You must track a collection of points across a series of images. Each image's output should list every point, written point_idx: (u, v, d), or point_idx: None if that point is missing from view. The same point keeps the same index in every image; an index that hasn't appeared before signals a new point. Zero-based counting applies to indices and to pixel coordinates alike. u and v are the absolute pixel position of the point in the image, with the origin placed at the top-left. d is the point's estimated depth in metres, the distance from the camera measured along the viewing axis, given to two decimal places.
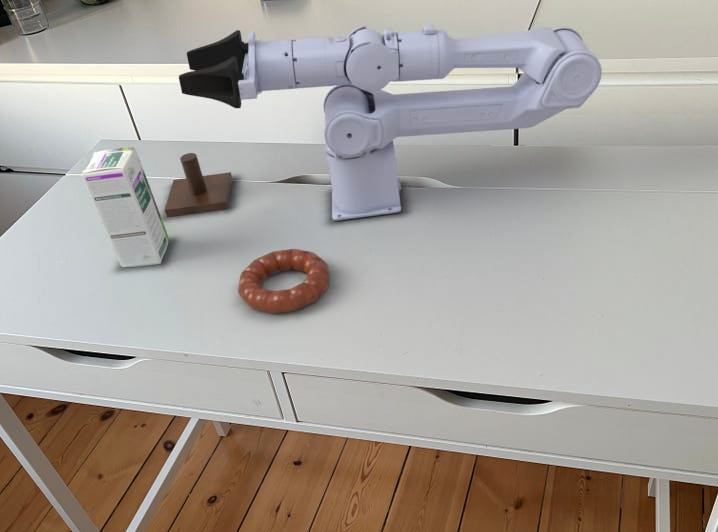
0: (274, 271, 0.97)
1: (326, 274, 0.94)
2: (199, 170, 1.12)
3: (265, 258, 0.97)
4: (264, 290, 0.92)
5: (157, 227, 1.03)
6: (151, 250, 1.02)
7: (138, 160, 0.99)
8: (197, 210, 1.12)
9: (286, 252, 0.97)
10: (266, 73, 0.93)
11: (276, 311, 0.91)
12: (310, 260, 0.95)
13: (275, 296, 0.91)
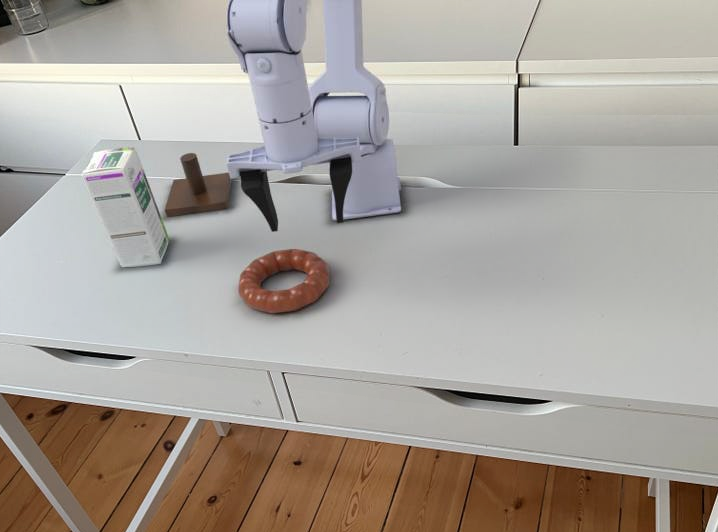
0: (274, 271, 0.97)
1: (326, 274, 0.94)
2: (199, 170, 1.12)
3: (265, 258, 0.97)
4: (264, 290, 0.92)
5: (157, 227, 1.03)
6: (151, 250, 1.02)
7: (138, 160, 0.99)
8: (197, 210, 1.12)
9: (286, 252, 0.97)
10: (316, 137, 0.83)
11: (276, 311, 0.91)
12: (310, 260, 0.95)
13: (275, 296, 0.91)
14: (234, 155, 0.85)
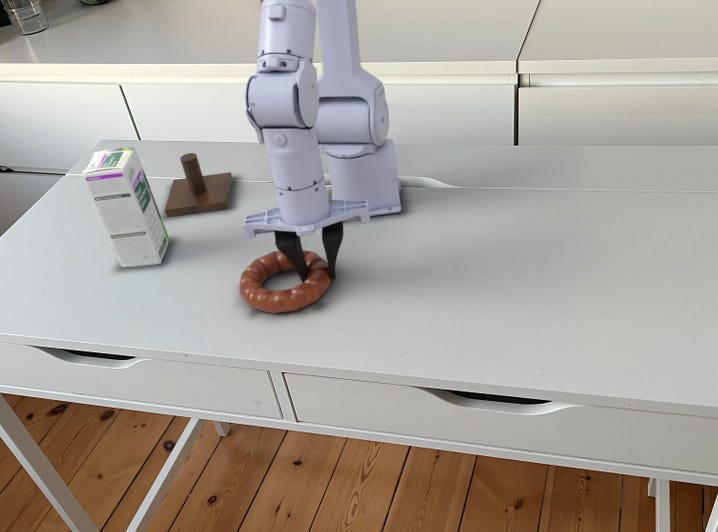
0: (275, 271, 0.97)
1: (327, 273, 0.94)
2: (199, 170, 1.12)
3: (266, 258, 0.97)
4: (265, 290, 0.92)
5: (157, 227, 1.03)
6: (151, 250, 1.02)
7: (138, 160, 0.99)
8: (197, 210, 1.12)
9: None
10: (328, 201, 0.88)
11: (277, 311, 0.91)
12: (311, 260, 0.95)
13: (276, 296, 0.91)
14: (250, 216, 0.90)
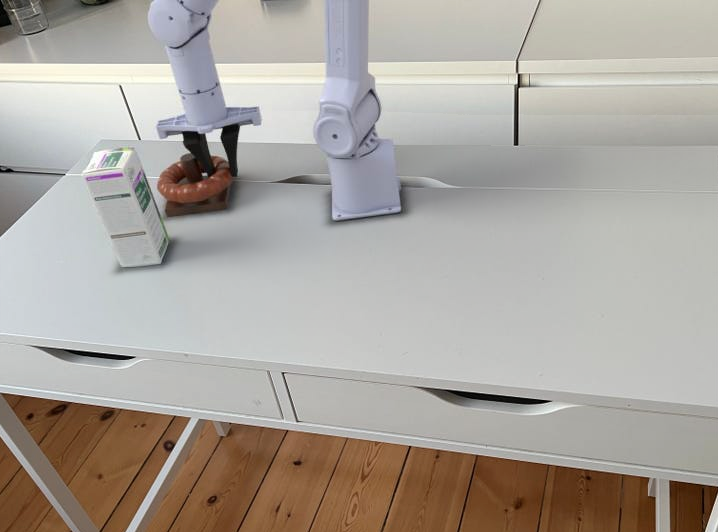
0: None
1: (229, 172, 1.12)
2: (199, 170, 1.12)
3: None
4: (176, 184, 1.11)
5: (157, 227, 1.03)
6: (151, 250, 1.02)
7: (138, 160, 0.99)
8: (197, 210, 1.12)
9: None
10: (225, 106, 1.07)
11: (186, 201, 1.10)
12: (217, 162, 1.14)
13: (184, 188, 1.09)
14: (162, 121, 1.09)
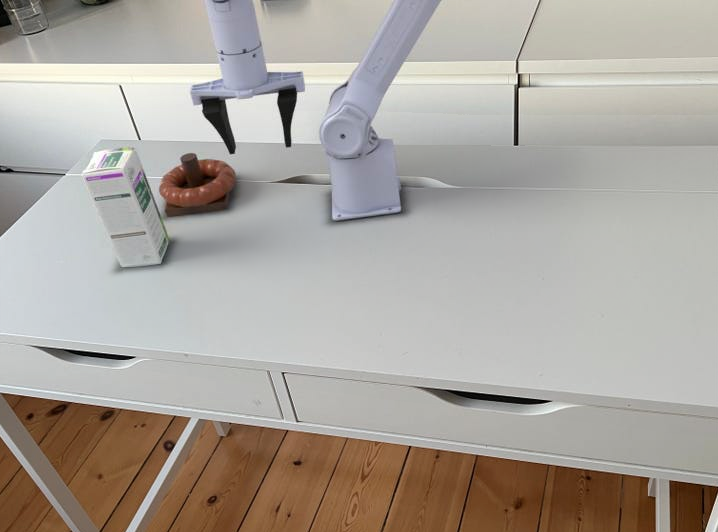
0: None
1: (231, 176, 1.13)
2: (199, 170, 1.12)
3: None
4: (178, 188, 1.11)
5: (157, 227, 1.03)
6: (151, 250, 1.02)
7: (138, 160, 0.99)
8: (197, 210, 1.12)
9: (201, 161, 1.16)
10: (266, 70, 0.98)
11: (188, 205, 1.11)
12: (219, 166, 1.15)
13: (186, 192, 1.10)
14: (197, 85, 0.99)
